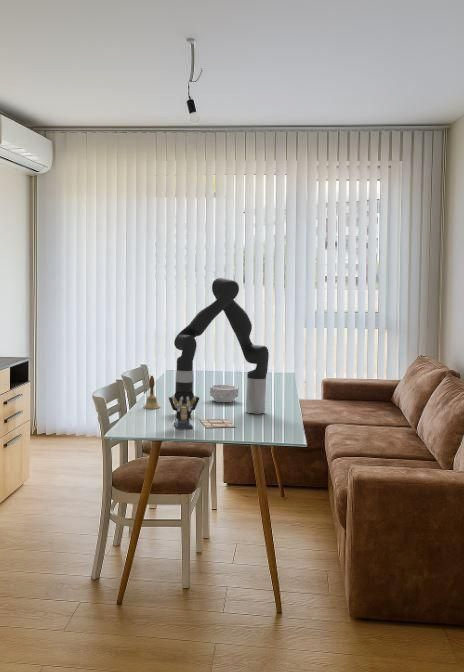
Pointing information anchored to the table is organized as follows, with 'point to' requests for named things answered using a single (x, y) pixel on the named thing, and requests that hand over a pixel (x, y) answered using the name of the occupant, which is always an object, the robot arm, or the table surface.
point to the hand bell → (151, 397)
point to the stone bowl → (224, 393)
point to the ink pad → (183, 426)
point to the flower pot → (183, 404)
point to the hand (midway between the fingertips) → (183, 419)
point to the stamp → (183, 416)
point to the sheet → (217, 423)
